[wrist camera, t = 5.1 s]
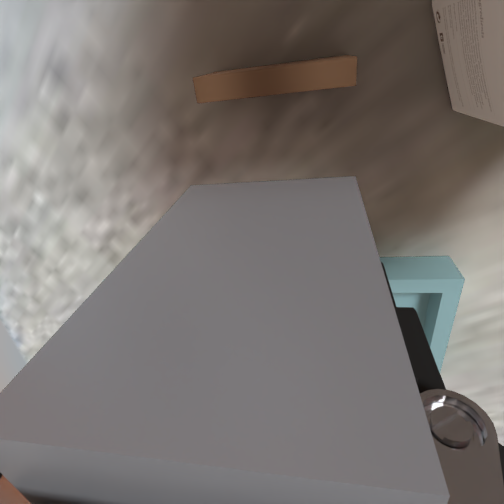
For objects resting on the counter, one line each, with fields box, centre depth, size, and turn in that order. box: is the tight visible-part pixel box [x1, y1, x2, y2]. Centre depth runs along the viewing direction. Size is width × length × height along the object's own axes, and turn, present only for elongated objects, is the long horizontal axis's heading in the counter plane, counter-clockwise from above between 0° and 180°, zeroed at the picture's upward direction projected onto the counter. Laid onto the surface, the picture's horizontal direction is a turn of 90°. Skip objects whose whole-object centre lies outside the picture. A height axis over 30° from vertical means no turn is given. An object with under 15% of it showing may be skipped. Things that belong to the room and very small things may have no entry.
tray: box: [379, 256, 465, 373], centre depth 28 cm, size 12×14×3 cm
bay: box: [193, 55, 357, 103], centre depth 21 cm, size 8×12×5 cm, turn 7°
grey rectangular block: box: [0, 176, 450, 504], centre depth 8 cm, size 5×7×9 cm
